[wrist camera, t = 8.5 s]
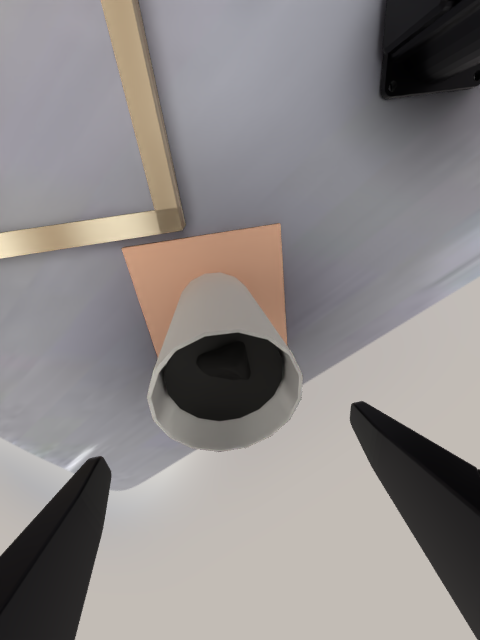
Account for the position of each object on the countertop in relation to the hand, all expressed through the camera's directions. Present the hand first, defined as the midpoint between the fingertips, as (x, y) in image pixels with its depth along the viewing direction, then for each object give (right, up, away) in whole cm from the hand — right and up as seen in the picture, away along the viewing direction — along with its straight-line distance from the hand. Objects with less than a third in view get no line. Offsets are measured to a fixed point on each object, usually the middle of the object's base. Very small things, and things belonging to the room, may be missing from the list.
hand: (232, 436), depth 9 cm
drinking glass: (-2, +5, +11) cm, 12 cm away
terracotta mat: (-2, +5, +11) cm, 12 cm away
